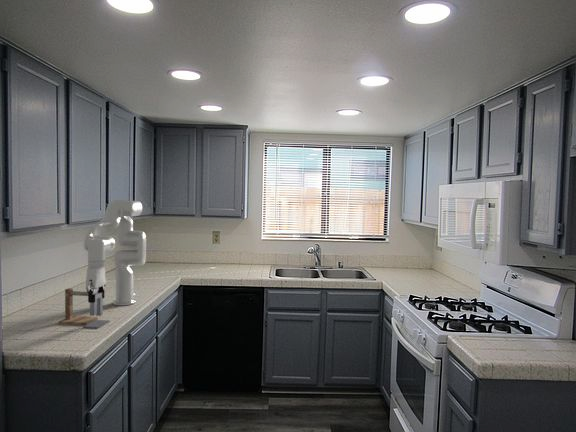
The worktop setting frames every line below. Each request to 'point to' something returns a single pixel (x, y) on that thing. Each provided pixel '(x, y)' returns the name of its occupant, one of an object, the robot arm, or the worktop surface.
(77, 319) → the hook stand
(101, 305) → the grey u-shaped bracket
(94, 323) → the rubber mat
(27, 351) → the worktop surface
